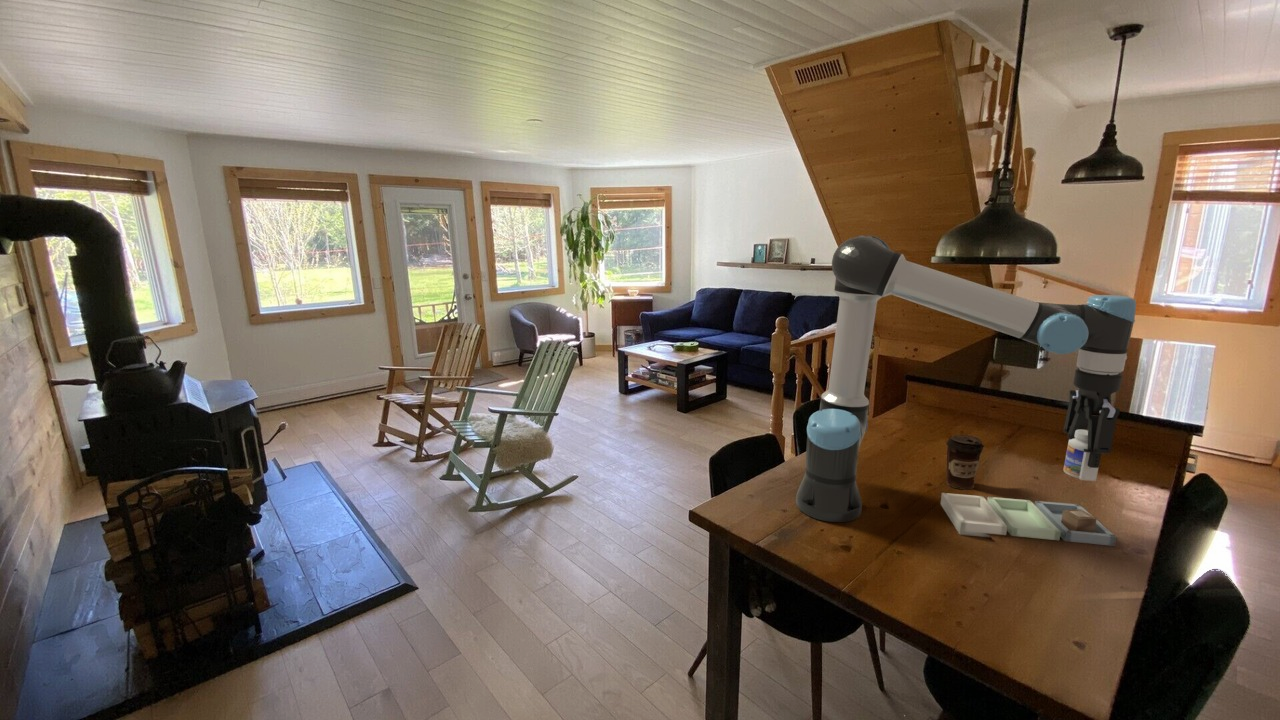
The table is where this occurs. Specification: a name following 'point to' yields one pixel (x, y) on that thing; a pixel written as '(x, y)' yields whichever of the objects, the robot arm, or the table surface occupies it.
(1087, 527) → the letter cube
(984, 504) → the bin
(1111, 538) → the bin
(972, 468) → the coffee cup
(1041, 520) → the bin mid
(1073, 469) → the pill bottle
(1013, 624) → the table surface
